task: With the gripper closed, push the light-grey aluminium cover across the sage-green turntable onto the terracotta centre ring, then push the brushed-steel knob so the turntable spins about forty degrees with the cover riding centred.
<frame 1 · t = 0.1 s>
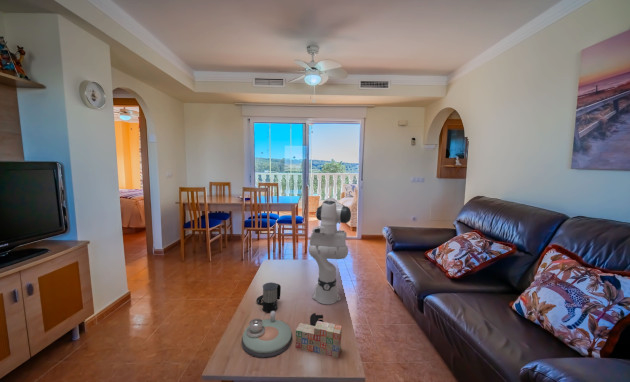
hand: (327, 254, 143), 39 cm above the table, tool pointing down, fingers open, 8 cm apart
turntable: (267, 330, 128), point 5 cm above the table, hinge at 0.0°, touching cover
stack of blocks: (318, 349, 124), on the table
turntable base: (267, 339, 129), on the table
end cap: (316, 330, 138), on the table
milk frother: (266, 306, 159), on the table
cover: (255, 332, 129), point 3 cm above the table, touching turntable
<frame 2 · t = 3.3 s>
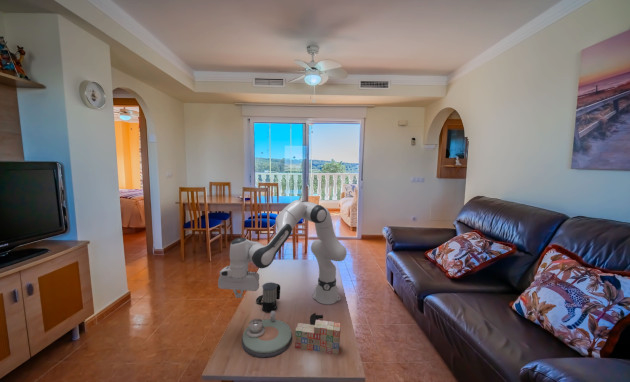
hand: (238, 297, 128), 21 cm above the table, tool pointing down, fingers closed
stack of blocks: (317, 347, 125), on the table
everything else where it was.
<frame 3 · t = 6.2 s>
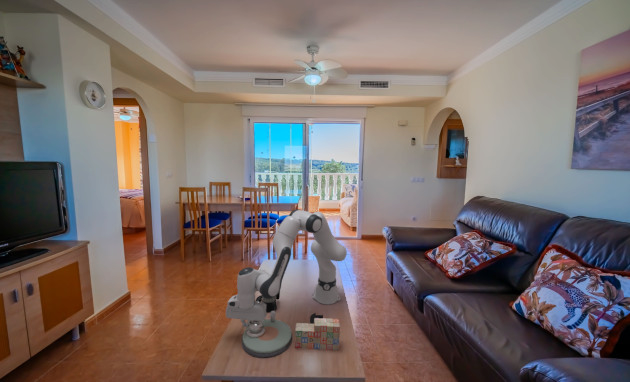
hand: (246, 326, 129), 6 cm above the table, tool pointing down, fingers closed
stack of blocks: (316, 345, 126), on the table
cover: (255, 332, 129), point 3 cm above the table, touching gripper, turntable
everything else where it was.
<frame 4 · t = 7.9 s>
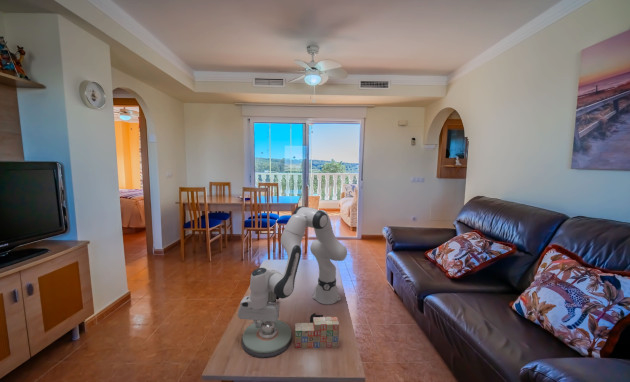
hand: (258, 327, 129), 6 cm above the table, tool pointing down, fingers closed
cover: (268, 333, 128), point 3 cm above the table, touching gripper, turntable
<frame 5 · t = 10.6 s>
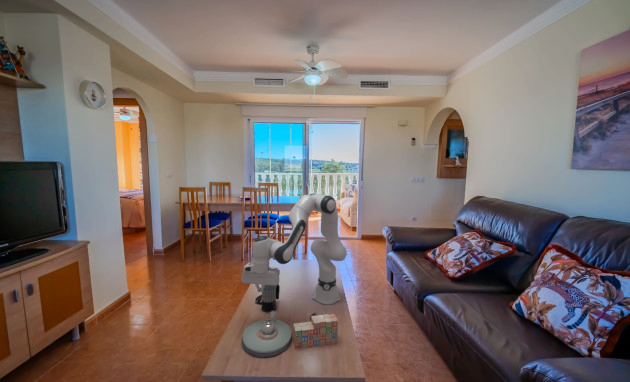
hand: (260, 291, 138), 20 cm above the table, tool pointing down, fingers closed
stack of blocks: (314, 342, 128), on the table
cover: (268, 333, 128), point 3 cm above the table, touching turntable
everything else where it was.
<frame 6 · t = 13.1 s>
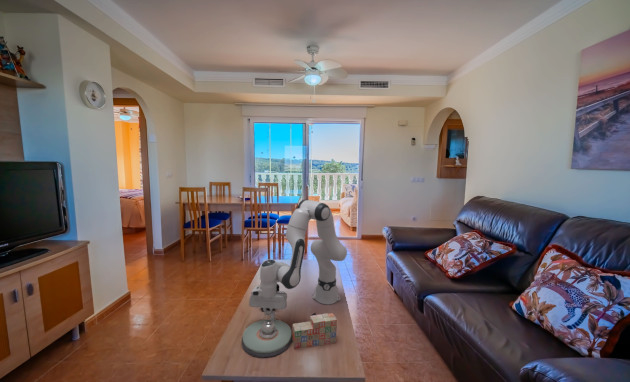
hand: (268, 314, 139), 6 cm above the table, tool pointing down, fingers closed
turntable: (267, 330, 128), point 5 cm above the table, hinge at 0.0°, touching cover, gripper
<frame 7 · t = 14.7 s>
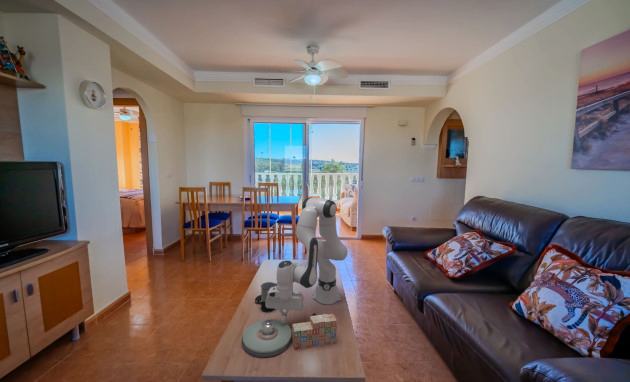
hand: (284, 316, 138), 7 cm above the table, tool pointing down, fingers closed
turntable: (267, 330, 128), point 5 cm above the table, hinge at -37.8°, touching cover
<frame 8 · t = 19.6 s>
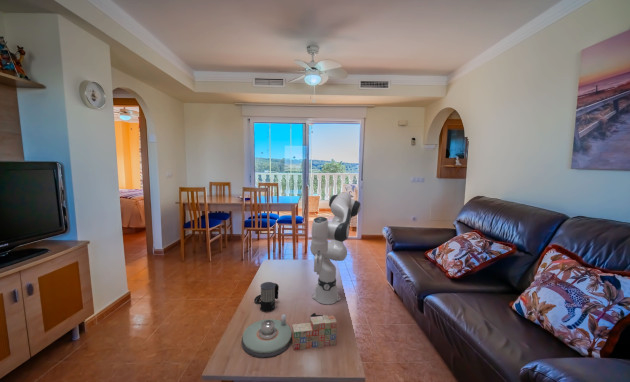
hand: (318, 273, 136), 31 cm above the table, tool pointing down, fingers closed
at the end: cover 0.4 cm off-centre on the turntable, point 3.3 cm above the turntable's base; turntable at -38° (first picture: +0°); cover tilted 0° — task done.
